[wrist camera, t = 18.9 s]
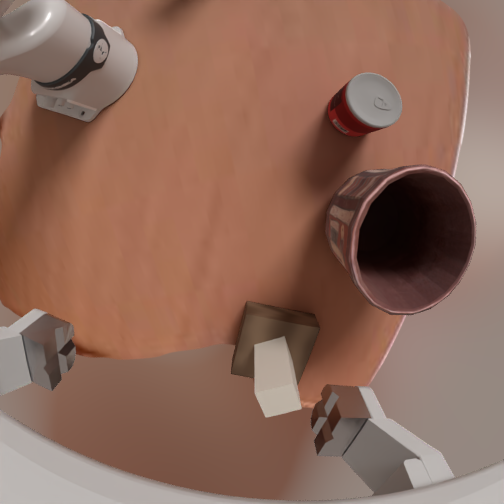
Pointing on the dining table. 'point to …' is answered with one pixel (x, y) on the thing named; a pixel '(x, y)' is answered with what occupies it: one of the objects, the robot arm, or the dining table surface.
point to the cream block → (275, 378)
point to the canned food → (365, 105)
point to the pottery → (402, 235)
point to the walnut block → (274, 336)
